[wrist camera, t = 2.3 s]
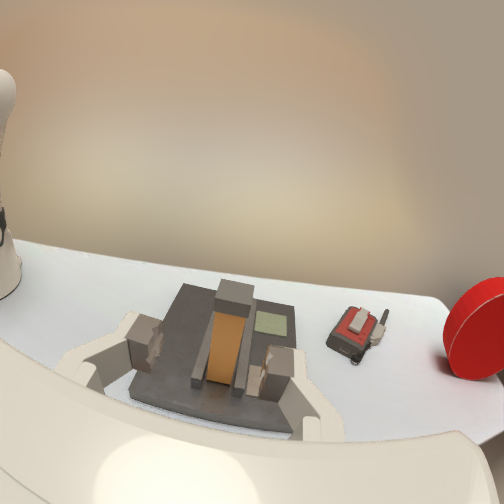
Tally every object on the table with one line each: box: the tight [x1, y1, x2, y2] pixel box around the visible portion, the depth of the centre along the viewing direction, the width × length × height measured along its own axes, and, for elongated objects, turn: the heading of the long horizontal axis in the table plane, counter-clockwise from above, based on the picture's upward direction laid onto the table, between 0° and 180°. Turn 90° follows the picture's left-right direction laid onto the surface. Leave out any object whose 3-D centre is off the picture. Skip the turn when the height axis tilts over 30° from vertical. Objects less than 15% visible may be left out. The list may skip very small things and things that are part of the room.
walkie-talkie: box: [326, 306, 389, 363], centre depth 48 cm, size 9×4×20 cm
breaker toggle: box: [206, 279, 254, 385], centre depth 30 cm, size 3×3×13 cm
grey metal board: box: [128, 283, 296, 433], centre depth 38 cm, size 20×24×4 cm
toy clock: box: [443, 277, 504, 380], centre depth 35 cm, size 20×6×20 cm, turn 71°
